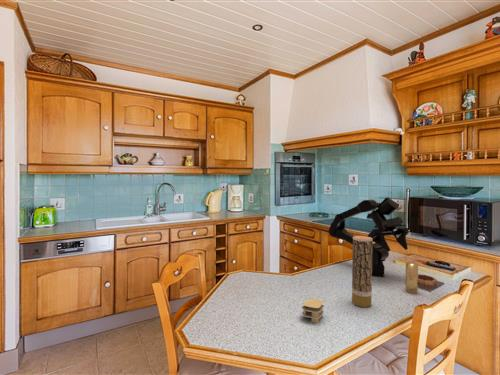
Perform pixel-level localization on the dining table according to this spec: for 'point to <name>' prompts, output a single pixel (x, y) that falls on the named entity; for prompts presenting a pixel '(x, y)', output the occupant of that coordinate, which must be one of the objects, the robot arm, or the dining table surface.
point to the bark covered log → (362, 271)
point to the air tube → (411, 278)
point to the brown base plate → (428, 282)
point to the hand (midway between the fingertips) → (398, 250)
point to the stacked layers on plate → (313, 309)
